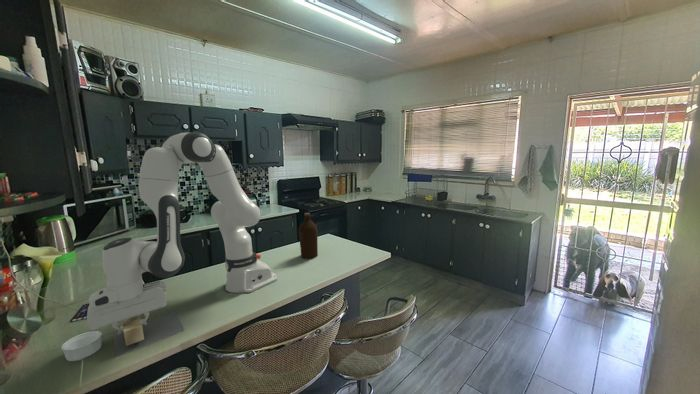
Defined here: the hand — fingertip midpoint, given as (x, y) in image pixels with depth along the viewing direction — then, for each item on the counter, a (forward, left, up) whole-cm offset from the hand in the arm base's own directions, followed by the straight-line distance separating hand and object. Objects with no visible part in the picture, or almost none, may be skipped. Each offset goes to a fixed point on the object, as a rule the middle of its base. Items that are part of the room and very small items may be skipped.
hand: (132, 328), depth 91 cm
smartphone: (+12, -34, -4) cm, 36 cm away
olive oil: (-82, -21, -4) cm, 85 cm away
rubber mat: (-4, 0, -3) cm, 5 cm away
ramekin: (+12, -2, -4) cm, 13 cm away
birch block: (0, +7, +1) cm, 7 cm away
